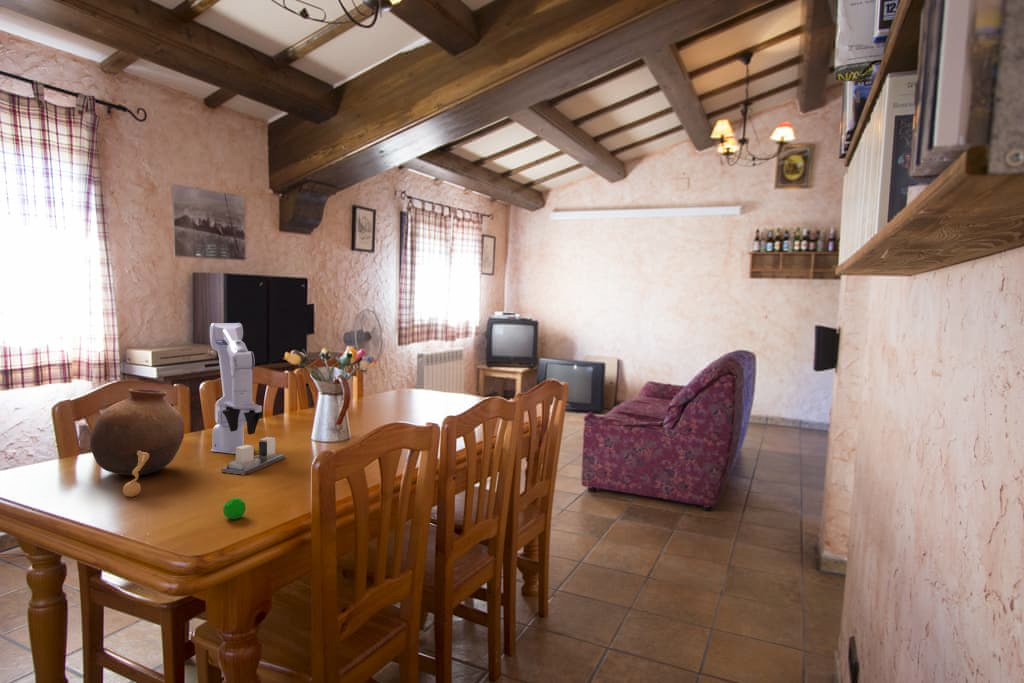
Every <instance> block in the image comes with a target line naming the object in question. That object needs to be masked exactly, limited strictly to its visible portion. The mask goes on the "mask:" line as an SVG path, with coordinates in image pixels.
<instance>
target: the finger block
mask: <svg viewBox="0 0 1024 683" xmlns="http://www.w3.org/2000/svg"><path fill="white" fill-rule="evenodd" d="M254 456H255V447H254V445H251V444H244V445H243V446H239V447H236V453H235V460H236V464H246V463H249V462H252V461H254Z"/></svg>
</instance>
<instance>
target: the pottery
mask: <svg viewBox="0 0 1024 683" xmlns="http://www.w3.org/2000/svg"><path fill="white" fill-rule="evenodd" d="M128 392H129V393H130V396H128V397H126V399H123V400H120V401H118V402H116V403H114V404H112V405H110V406H109V407H108V408H107V409H105V410H104V411H102V412H101V413H100V415H98V417H97V419H96V421H95V423H94V426H93V428H92V430H91V433H90V438H89V446H90V450H91V451H90V452H91V453H92V456H93V457H94V460H95V462H96V464H97V465H98V466H99V467H100V468H101V469H103V470H104V471H106V472H109V473H112V474H116V475H122V476H134V475H133V474H132V472H133V470H134V469H135V468H136V467H137V466H138V465H137V463H138V457H139V456H138V455H137V452H138V451H141V452H146V453H149V458H148V460H147V461H146V462H145V464H144V466H143V467H142V468H141V469H140V471H138V472H137V473H139V476H145V475H150V474H152V473H156V472H157V471H160V470H162V469H163V468H165V467H167V466H168V465H169V464H170V463H171V462H172V461H173V460H174V458H175V457H176V455H177V453H178V452H179V450H180V447H181V445H182V444H183V440H184V436H185V431H186V430H185V426H186V425H185V421H184V418H183V417H182V415H181V413H180V412H179V411H178V410H177V409H176V408H175V407H174V406H172V405H171V404H170V403H169V402H167V401H166V400H164V397H166V395H167V394H168V392H166V391H162V390H153V389H144V388H129V389H128ZM134 477H135V476H134Z"/></svg>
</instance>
